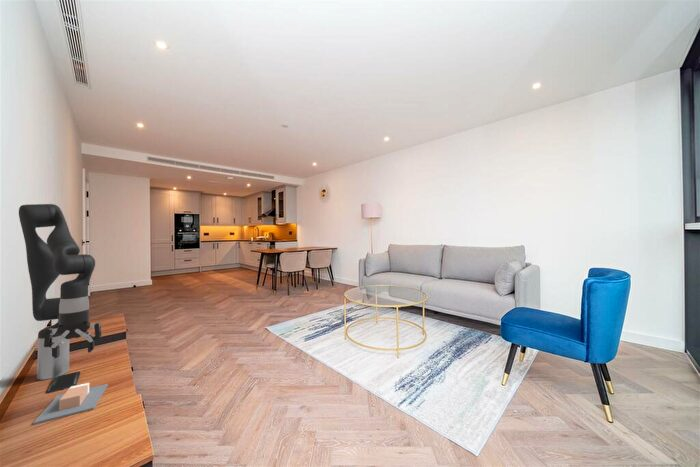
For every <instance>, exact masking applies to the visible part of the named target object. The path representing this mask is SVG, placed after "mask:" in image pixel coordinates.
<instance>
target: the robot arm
mask: <svg viewBox="0 0 700 467" xmlns="http://www.w3.org/2000/svg"><path fill="white" fill-rule="evenodd" d="M18 218H19V223H20V227H21V230H22V234H23V239H24V244H25V251H26V260H27V261H26V262H27V263H26V264H27V270H28V274H29V280H30V286H31V299H32V300H31V301H32V302H31V303H32V304H31V305H32V307H31V308H32V309H31V310H32V316H33V318H34V321H37V322H45V321H54V320H57V322H56V323H54V324H52V325H50V326H47V327H45V328H43V329H42V328H41V329H40V330H39V331H38V334H37V369H36V372H37V373H36V378H37V380H39V381H41V380H42V381H43V380H49V379H54V378H55V377H57V376H61V375H66V374H68V372H69V371H70V340H72V339H79V338H83V339H85V340H86V341H88V342H87V354H89V353H92V351H94V349H95V341H96V340H97V341H98V340H99V339H100V338H101V337H102V323H101V321H97V322H95V323H90V300H89V299H90V298H89V285H90V280H91V277H92V275H93V272H94V270H95V267H96V260H95V258H94V257H93V255H91V254H87V253H86V254H80V252H81V249H80V247H79V245H78V244H77V243H76V241H75V239H74V237H73V236H72V235H71V232H70V230H69V226H68V223H67V220H66V218H65V216H64V213H63V211H62V209H61V208H60V207H59V205H57V204H53V203H40V204H39V203H37V204H34V203H33V204H32V203H31V204H21V205H20V206H19V208H18ZM48 227H50V228H51V227H54V228H53V230H52V231H51V232H49V235H48V237H47V239H46V241H44V240H43V239H42V237H40V235H39V234H38V233H37V230H36V228H48ZM77 274H78V275H77ZM60 275H61V276H68V275H69V276H70V275H77V276H76V278H74V279H71V280H68V281H64V282H63V283H61V285H60V287H59V288H60V290H59V291H60V295H59V296H60V297H51V298H47V292H48V290H49V288H50V287H51V285H52V284H53V283H54V282H55V281H56V280H57V279H58V277H59V276H60ZM90 328H92V330H94V336H93V334H92V333H91V332H90V331H88V330H89V329H90Z"/></svg>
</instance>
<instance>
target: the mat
mask: <svg viewBox="0 0 700 467" xmlns="http://www.w3.org/2000/svg"><path fill="white" fill-rule="evenodd" d="M108 386H109V384H108V383H105V384H102V385H95V386H92V387H89V393H88V395H87V396H86V397H85V399H84V400H83V402H82V403H81V405H80V406H77V407H73V408H69V409H64V410H60V411H59V400H60V399H61V398H62V396H63V395H64V394H65V393H66V392H64V393H61V394H57V396H55V397H54V399H53V400H52V401H51V402H50V403H49V404H48V406H47V407H46V408H45V409H44V410H43V411H42V412H41V414H40V415H38V417H37V418H35V420H34V421H33V422H32V426H33V425H37V424H41V423H44V422H45V423H46V422H49V421H52V420H53V421H54V420H57V419H60V418H65V417H69V416H73V415H76V414H80V413H84V412H89V411H92V410H95V408H96V406H97V405H98V404H99V401H100V399H101V398H102V396H103V395H104V393H105V391H106V389H107V388H108Z"/></svg>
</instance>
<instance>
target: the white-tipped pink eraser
mask: <svg viewBox="0 0 700 467" xmlns="http://www.w3.org/2000/svg"><path fill="white" fill-rule="evenodd" d="M89 388H90V382H85V383H82V384H77V385H76V386H71V387H70V388H68V389H67V390H66V392H64V393H65V394H64V393H63V394H64V395H63V396H62V398H61V399H60V400H59V411H60V410H64V409H69V408H73V407H77V406H80V405H81V403H82V402H83V400H84V399H85V397H86V396H87V395H88V393H89Z"/></svg>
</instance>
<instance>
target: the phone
mask: <svg viewBox="0 0 700 467" xmlns="http://www.w3.org/2000/svg"><path fill="white" fill-rule="evenodd" d="M80 375H81V371H75V372H70V373H65V374H63V375H61V376H57V377H54V378H52V381H51V383H50V385H49V387H48V389H47V394H52V393H55V392H58V391H64V390H68V389H69V388H70V387H71V386H76V385H78V384H79V383H78V382H79V379H80Z"/></svg>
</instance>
